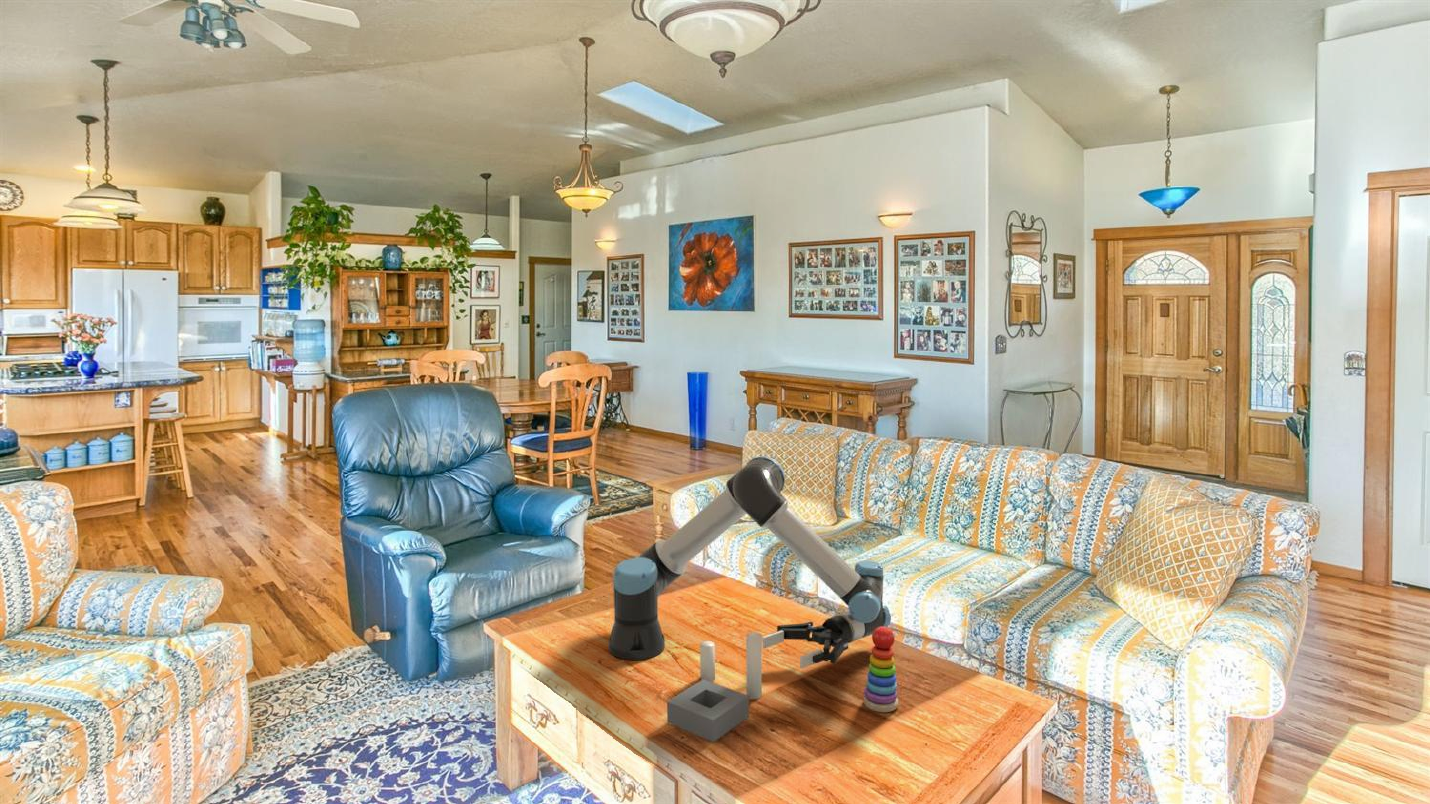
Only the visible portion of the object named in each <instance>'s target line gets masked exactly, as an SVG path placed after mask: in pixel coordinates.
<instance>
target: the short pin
mask: <svg viewBox="0 0 1430 804" xmlns="http://www.w3.org/2000/svg"><path fill="white" fill-rule="evenodd" d="M699 646H700V647H699V651H700V654H699V655H700V658H699V660H700V663H699V665H700V681H701V680H703V679H705V680H707V681H710V682H714V681H715V680H716V648H715V647H716V645H715V642H714V641H711V640H710V641H709V640H704V641H702V642H700V644H699Z"/></svg>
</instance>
